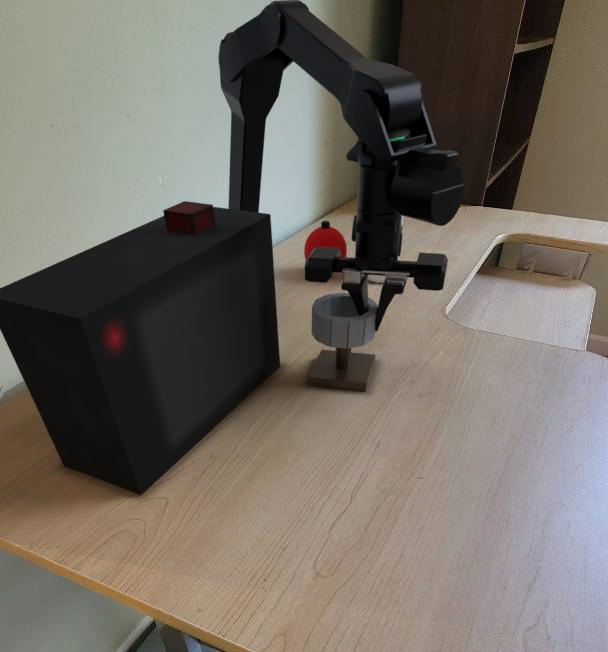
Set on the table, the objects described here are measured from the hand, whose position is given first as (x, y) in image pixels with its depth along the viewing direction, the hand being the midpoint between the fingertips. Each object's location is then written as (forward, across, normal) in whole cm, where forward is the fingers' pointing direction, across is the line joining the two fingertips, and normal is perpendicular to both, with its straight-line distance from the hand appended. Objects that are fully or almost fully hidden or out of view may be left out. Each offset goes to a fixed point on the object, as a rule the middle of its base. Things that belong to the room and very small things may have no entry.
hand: (371, 329), depth 76 cm
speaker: (+8, +26, +15) cm, 31 cm away
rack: (+8, +4, 0) cm, 9 cm away
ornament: (+8, +16, -41) cm, 45 cm away
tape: (+1, +4, 0) cm, 4 cm away
